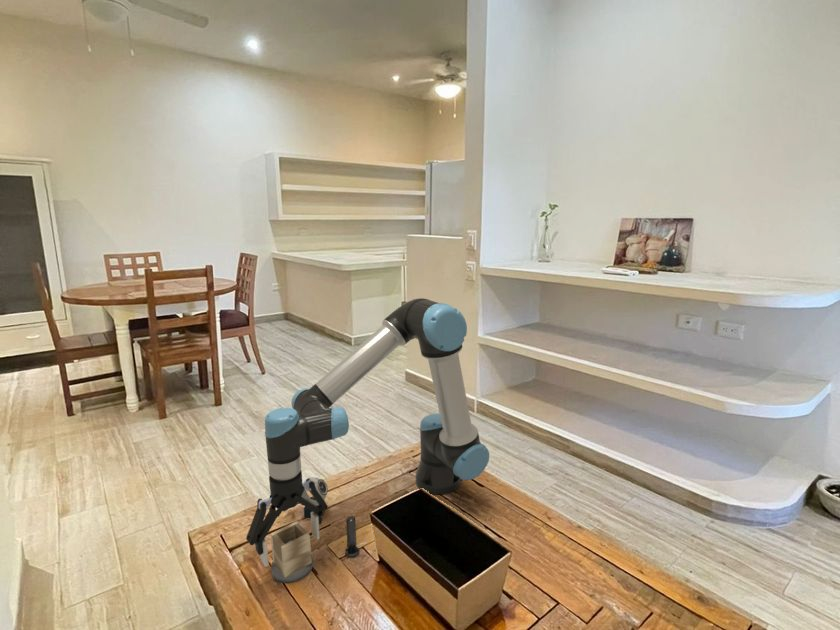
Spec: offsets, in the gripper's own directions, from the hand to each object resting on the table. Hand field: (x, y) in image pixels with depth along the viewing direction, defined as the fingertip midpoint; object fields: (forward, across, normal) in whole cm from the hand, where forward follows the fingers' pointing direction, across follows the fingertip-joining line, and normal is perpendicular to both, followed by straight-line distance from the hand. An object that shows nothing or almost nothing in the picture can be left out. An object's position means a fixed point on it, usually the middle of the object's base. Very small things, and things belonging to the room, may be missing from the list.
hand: (291, 549), depth 110 cm
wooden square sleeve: (+4, 0, 0) cm, 4 cm away
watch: (+5, -15, -16) cm, 22 cm away
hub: (+5, 0, 0) cm, 5 cm away
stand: (+5, -14, +6) cm, 16 cm away
